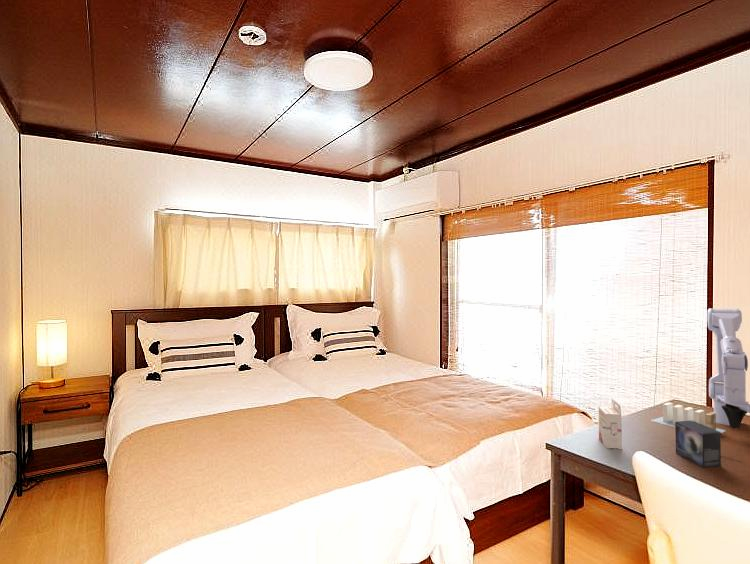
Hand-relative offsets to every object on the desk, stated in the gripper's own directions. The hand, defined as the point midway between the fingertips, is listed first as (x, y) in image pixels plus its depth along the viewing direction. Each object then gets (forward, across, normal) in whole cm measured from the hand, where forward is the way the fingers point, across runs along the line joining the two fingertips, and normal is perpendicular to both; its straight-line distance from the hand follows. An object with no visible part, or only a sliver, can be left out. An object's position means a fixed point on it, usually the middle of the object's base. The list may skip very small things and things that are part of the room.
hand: (734, 427), depth 144 cm
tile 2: (+4, +9, +6) cm, 11 cm away
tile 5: (+4, +18, +11) cm, 21 cm away
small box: (+5, -15, +23) cm, 28 cm away
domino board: (+4, +12, +8) cm, 15 cm away
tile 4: (+4, +15, +9) cm, 18 cm away
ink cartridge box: (+5, -4, +44) cm, 44 cm away
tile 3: (+4, +12, +7) cm, 14 cm away
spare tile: (+4, +6, +4) cm, 8 cm away
